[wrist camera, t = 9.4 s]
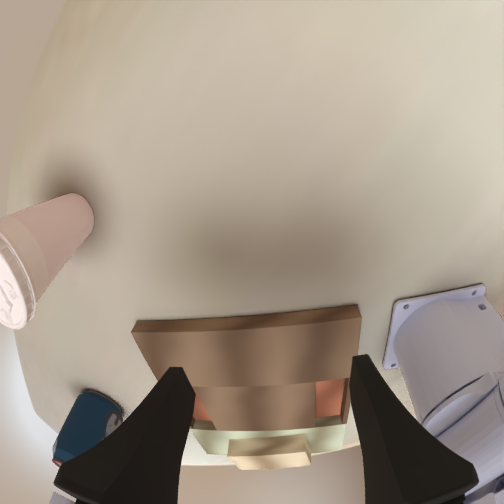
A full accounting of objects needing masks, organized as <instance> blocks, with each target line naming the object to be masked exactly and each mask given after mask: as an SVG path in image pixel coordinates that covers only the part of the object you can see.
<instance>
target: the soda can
mask: <svg viewBox="0 0 504 504" xmlns="http://www.w3.org/2000/svg"><path fill="white" fill-rule="evenodd" d="M122 422H123V418H122V413H121V409H120V407H119V406H118V405H117V404H116V403H115V402H114V401H113V400H111V399H110V398H108V397H107V396H105V395H103V394H101V393H98V392H95V391H87V392H84V393H82V394H80V395H79V396H78V397H77V399H76V401H75V403H74V405H73V407H72V409H71V411H70V413H69V415H68V417H67V419H66V421H65V423H64V425H63V427H62V429H61V431H60V433H59V435H58V437H57V439H56V441H55V443H54V445H53V459H52V461H53V463H55V464H56V465H57V466H58V467H60V466H61V464H62V463H64V462H66V461H68V460H70V459H73V458H75V457H77V456H78V455H80V454H82V453H84V452H85V451H87V450H89V449H90V448H92V447H93V446H95V445H96V444H98V443H99V442H100V441H102V440H103V439H104V438H106V437H107V436H108V435H109V434H111V433H112V432H113V431H114V430H115V429H116V428H117V427H119V426H120V425H121V424H122Z"/></svg>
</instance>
